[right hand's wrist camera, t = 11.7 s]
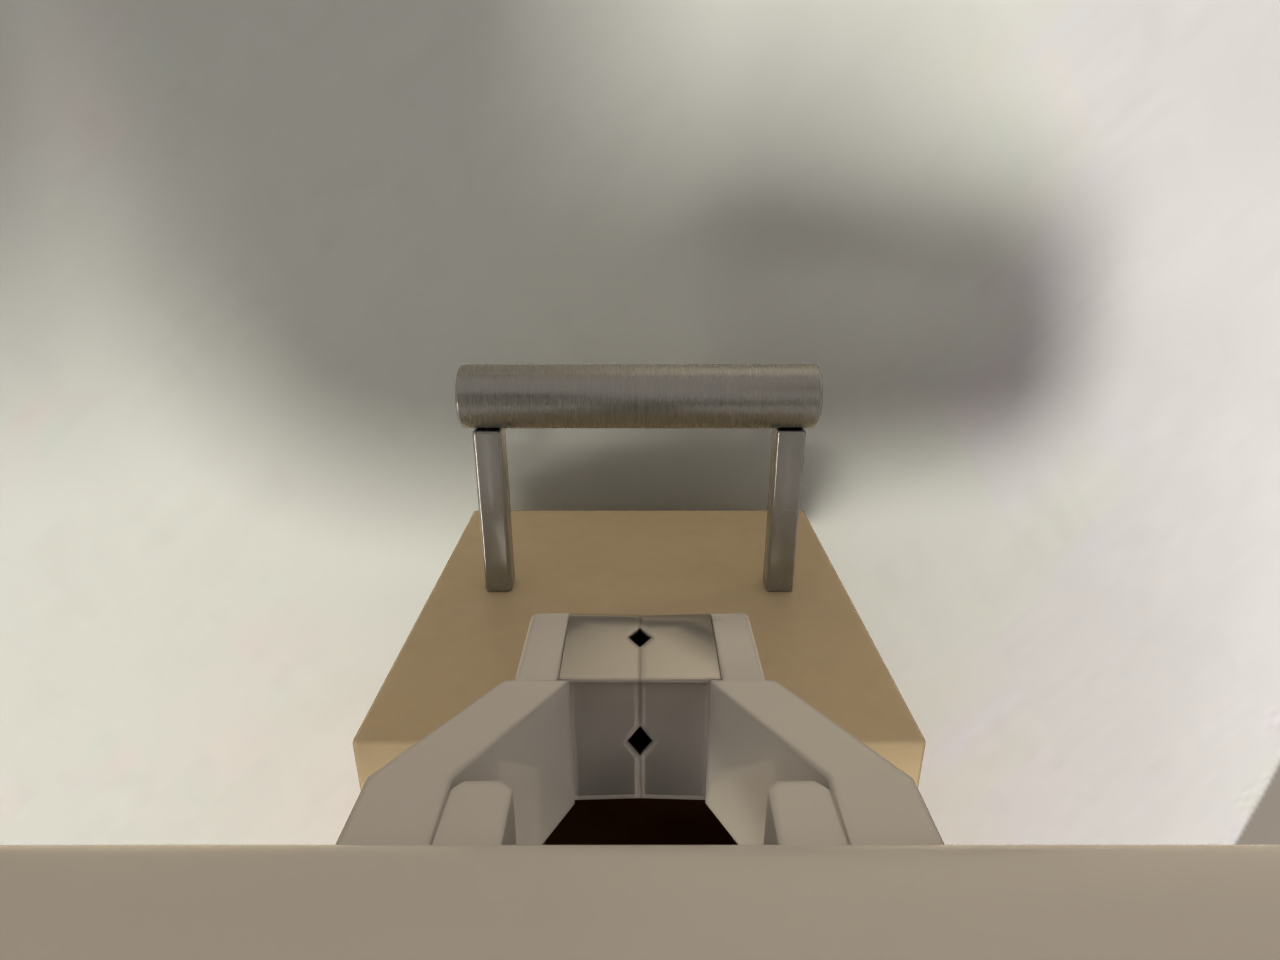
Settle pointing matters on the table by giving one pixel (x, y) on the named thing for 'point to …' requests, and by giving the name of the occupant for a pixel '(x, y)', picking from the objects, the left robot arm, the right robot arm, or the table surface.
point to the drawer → (638, 574)
